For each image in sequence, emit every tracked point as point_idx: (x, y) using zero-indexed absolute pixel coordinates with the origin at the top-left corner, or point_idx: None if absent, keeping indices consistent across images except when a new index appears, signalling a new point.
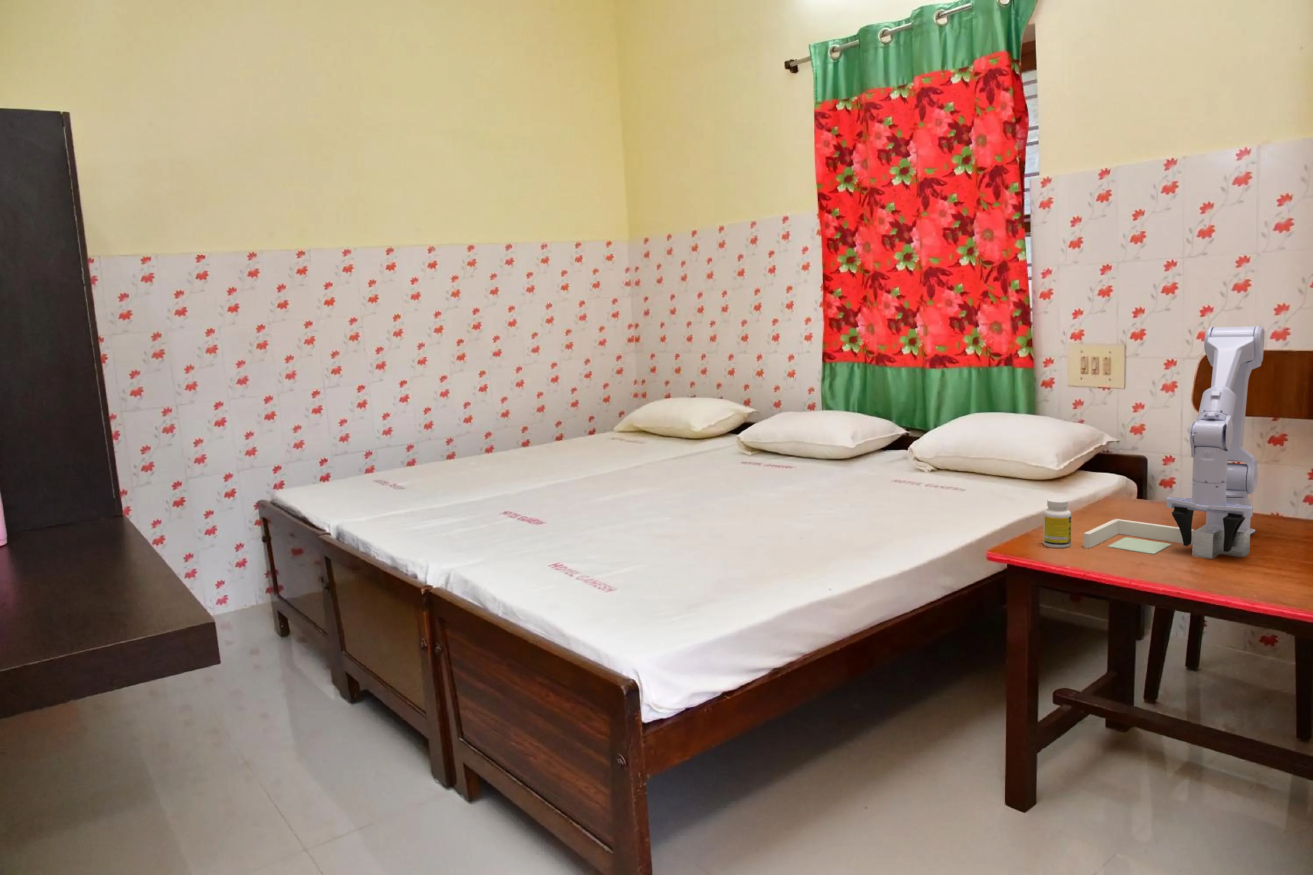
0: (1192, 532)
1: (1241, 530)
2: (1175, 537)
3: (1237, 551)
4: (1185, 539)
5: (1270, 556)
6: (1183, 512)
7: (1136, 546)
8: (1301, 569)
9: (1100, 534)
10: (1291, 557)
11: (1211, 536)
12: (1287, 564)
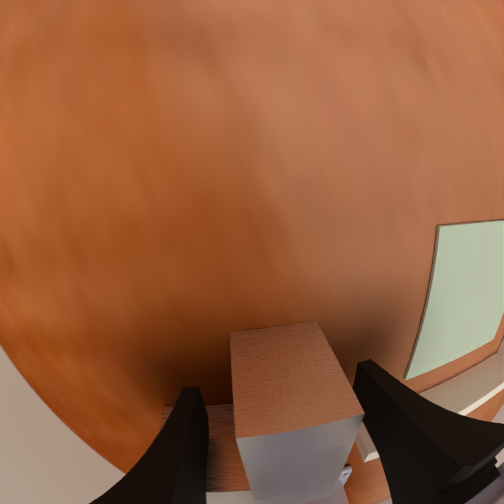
0: (365, 450)
1: None
2: None
3: None
4: (377, 376)
5: (130, 438)
6: (458, 483)
7: (483, 275)
8: (15, 366)
9: None
10: (101, 444)
11: (244, 423)
12: (56, 394)
